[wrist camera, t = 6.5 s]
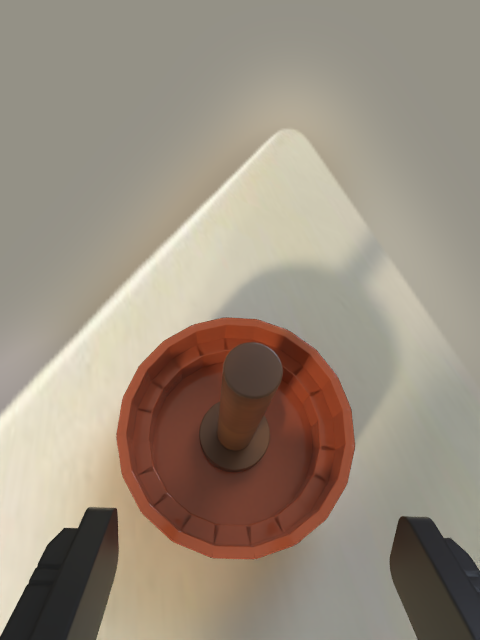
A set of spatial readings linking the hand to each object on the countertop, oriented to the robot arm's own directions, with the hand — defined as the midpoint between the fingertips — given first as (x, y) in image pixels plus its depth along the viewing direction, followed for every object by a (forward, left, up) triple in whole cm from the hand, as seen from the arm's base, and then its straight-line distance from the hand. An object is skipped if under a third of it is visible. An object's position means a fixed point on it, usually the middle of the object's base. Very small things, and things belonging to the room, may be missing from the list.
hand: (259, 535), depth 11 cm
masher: (0, -6, -16) cm, 17 cm away
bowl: (0, -6, -16) cm, 17 cm away
